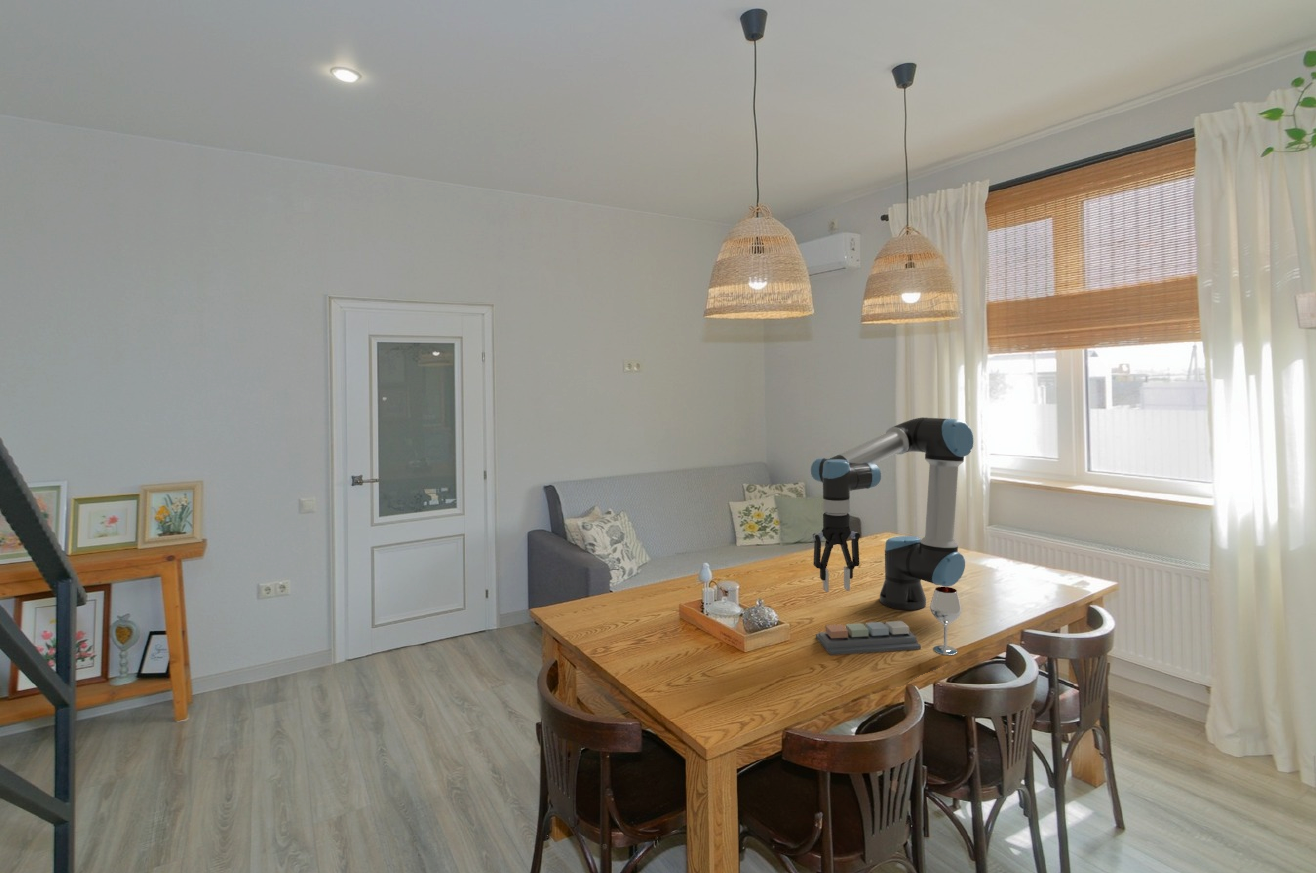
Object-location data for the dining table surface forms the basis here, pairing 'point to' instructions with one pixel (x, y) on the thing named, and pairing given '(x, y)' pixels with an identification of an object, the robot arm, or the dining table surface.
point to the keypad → (868, 643)
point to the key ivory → (897, 627)
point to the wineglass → (945, 613)
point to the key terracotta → (836, 631)
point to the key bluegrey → (877, 628)
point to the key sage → (857, 630)
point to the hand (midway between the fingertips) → (836, 589)
